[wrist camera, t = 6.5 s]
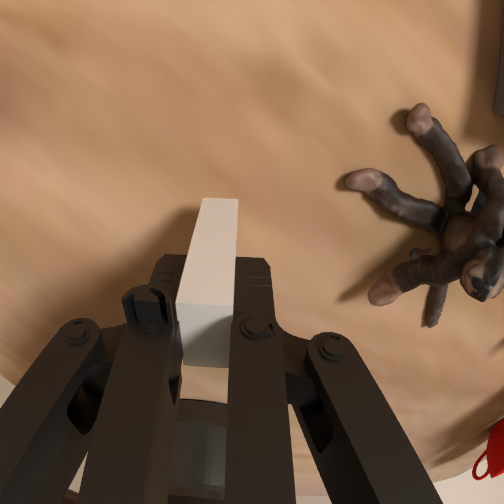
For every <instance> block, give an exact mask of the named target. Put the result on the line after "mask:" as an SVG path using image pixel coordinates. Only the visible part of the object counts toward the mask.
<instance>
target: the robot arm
mask: <svg viewBox="0 0 504 504" xmlns="http://www.w3.org/2000/svg"><path fill="white" fill-rule="evenodd" d="M237 215H238V199H222V198H203V201H202V204H201V208H200V211H199V215H198V218H197V222H196V225H195V229H194V233H193V236H192V240H191V243H190V247H189V251H188V255H173V254H165V255H164V256H163V257H162V258H161V259H160V260H159V261H157V263H156V265H155V268H154V271H153V273H152V276H151V279H150V282H149V284H148V285H141V286H138V287H135V288H132V289H131V290H129V291H128V292H126V293H125V295H124V296H123V298H122V303H123V307H124V311H125V315H126V319H127V323H125V324H123V325H120V326H116V327H110V328H103V329H99V327H98V326H97V324H96V323H95V322H94V321H92V320H90V319H85V318H79V319H74V320H72V321H69V322H67V323H66V324H65V325H64V326H62V327H61V328H60V330H59V331H58V332H57V333H56V335H55V336H54V337H53V338H52V340H51V341H50V342H49V343H48V345H47V346H46V347H45V348H44V350H43V351H42V352H41V354H40V355H39V356H38V357H37V359H36V360H35V361H34V363H33V364H32V365H31V367H30V368H29V369H28V371H27V372H26V373H25V375H24V376H23V377H22V379H21V380H20V381H19V383H18V384H17V386H16V387H15V388H14V390H13V391H12V393H11V394H10V395H9V397H8V398H7V400H6V401H5V403H4V404H3V405H2V407H1V408H0V504H296V496H295V484H294V471H293V459H292V447H291V436H290V425H289V414H288V404H291V405H292V407H293V409H294V412H295V414H296V417H297V419H298V422H299V424H300V427H301V429H302V432H303V434H304V437H305V439H306V442H307V444H308V446H309V449H310V451H311V454H312V456H313V459H314V461H315V464H316V466H317V469H318V471H319V473H320V476H321V478H322V481H323V483H324V486H325V488H326V490H327V493H328V495H329V498H330V500H331V502H332V504H443V502H442V501H441V499H440V497H439V495H438V493H437V491H436V489H435V487H434V485H433V483H432V481H431V480H430V478H429V476H428V474H427V472H426V470H425V468H424V467H423V465H422V463H421V461H420V459H419V457H418V455H417V454H416V452H415V450H414V448H413V446H412V445H411V443H410V441H409V439H408V437H407V436H406V434H405V432H404V430H403V429H402V427H401V425H400V423H399V421H398V420H397V418H396V416H395V414H394V413H393V411H392V409H391V407H390V406H389V404H388V402H387V401H386V399H385V397H384V395H383V394H382V392H381V390H380V388H379V387H378V385H377V383H376V382H375V380H374V378H373V377H372V375H371V373H370V372H369V370H368V368H367V366H366V365H365V363H364V361H363V360H362V358H361V356H360V355H359V353H358V351H357V350H356V348H355V346H354V345H353V344H352V343H351V342H350V340H349V339H347V338H346V337H344V336H342V335H341V334H337V333H333V332H322V333H320V334H317V335H315V336H314V337H313V338H312V339H311V340H307V339H303V338H299V337H296V336H293V335H291V334H289V333H287V332H285V331H284V330H283V329H282V328H281V327H280V326H279V325H278V323H277V321H276V318H275V310H274V300H273V290H272V280H271V271H270V266H269V265H268V263H267V262H266V261H265V259H264V258H253V257H235V256H236V235H237ZM182 358H183V364H184V365H189V366H203V367H219V368H229V377H228V402H227V405H225V404H219V403H213V402H206V401H195V400H179V397H180V390H181V383H182V375H181V364H182ZM87 452H88V454H87ZM86 454H87V458H86V463H85V467H84V472H83V476H82V481H81V486H80V491H79V493H77V492H74V491H72V490H69V489H68V488H69V486H70V484H71V482H72V480H73V478H74V477H75V475H76V473H77V471H78V469H79V467H80V465H81V463H82V461H83V459H84V458H85V456H86Z"/></svg>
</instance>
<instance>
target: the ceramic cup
mask: <svg viewBox="0 0 504 504" xmlns="http://www.w3.org/2000/svg"><path fill="white" fill-rule="evenodd" d="M486 454H487V462H488V468H487V471H486V473H485V474H484V475H483V476H481V477H478V476H477V475H476V468H477V466H478V464H479V462H480V461H481V459H482V458H483V457H484V456H485V455H486ZM489 473H490V476H491V478H494V477H496V476H498V475H500V474H502V473H504V419H502V420H501V421H500V422H498V423H497V424H496V425H495V426H494V427H493V428H492V429H491V433H490V436H489V439H488V443H487V449H486V450H485V451H484V453H483V454H482V455H481V456H480V457H479V458H478V460H477V461H476V462H475V464H474V467H473V470H472V475H473V478H474V479H476V480H481V479H483V478H485V477H486V476H487V475H488V474H489Z"/></svg>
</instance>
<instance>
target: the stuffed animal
mask: <svg viewBox="0 0 504 504" xmlns="http://www.w3.org/2000/svg"><path fill="white" fill-rule="evenodd" d="M406 127H407V129H408V130H409V131H410V132H412V133H413V134H414V136H415V138H416V139H417V141H418V142H419V143H420V144H421V145H422V146H424V147H425V148H426V149H427V150H428V151H429V152H430V153H431V154H432V155H433V157H434V158H435V160H436V162H437V164H438V166H439V168H440V171H441V175H442V178H443V180H444V182H445V185H446V198H445V203H444V207H439V206H437V205H436V204H435V203H434V202H432V201H428V200H424V199H417V198H415V197H413V196H411V195H409V194H406V193H404V192H402V191H401V190H400V189H399V188H398V187H397V184H396V182H395V181H394V180H393V179H392V178H391V177H390V176H389V175H387V174H385V173H383V172H382V171H379V170H375V169H371V168H365V169H361V170H358V171H355V172H353V173H351V174H350V175H349V176H348V177H347V178H346V181H345V183H346V185H347V187H349V188H350V189H354V190H359V191H364V192H365V194H366V195H367V197H368V198H369V199H370V200H371V201H373V202H374V203H376V204H377V205H378V206H379V208H380V209H381V210H382V211H383V212H386V213H389V214H391V215H393V216H396V217H398V218H401V219H402V220H404V221H406V222H408V223H410V224H412V225H414V226H416V227H418V228H422V229H424V230H427V231H429V232H431V233H434V234H435V235H436V237H437V240H438V241H439V245H440V248H441V252H440V253H439V254H438V255H437V256H431V255H422V254H429V253H430V252H431V248H429V247H428V248H425V249H418V248H414V249H412V250H411V251H410V254H409V257H410V260H408V261H405V262H402V263H399V264H398V265H396V266H395V267H394V268H393V269H391V270H389V271H388V272H386V273H385V274H384V275H383V276H382V277H381V278H380V279H379V280H378V281H377V282H376V283H375V284H374V285H373V287H372V288H371V289H370V290H369V292H368V300H369V302H370V303H371V304H372V305H375V306H384V305H387V304H390V303H392V302H394V301H395V300H396V299H397V298H398V297H399V296H400V295H401V294H403V293H404V292H407V291H410V290H412V289H414V288H416V287H417V286H419V285H422V284H428V285H431V286H432V287H431V290H430V294H429V297H428V301H427V310H426V315H425V322H426V325H427V327H428V328H432V327H434V326H435V325H437V324H438V319H439V317H440V316H441V312H442V308H443V305H444V302H445V298H446V293H447V288H448V284H449V283H451V282H453V281H455V280H458V279H460V284H461V285H462V287H463V288H464V290H465V292H466V293H467V294H468V295H469V296H471V297H473V298H475V299H477V300H478V301H481V302H485V301H487V300H489V299H491V298H495V297H496V296H498V295H499V294H500V292H501V290H502V289H503V288H504V178H503V176H502V174H501V171H500V168H501V167H502V165H503V164H504V159H503V156H502V153H501V151H500V150H499V149H498V147H497V146H496V145H494V144H493V145H490V146H488V147H486V148H484V149H481V150H477V151H476V152H475V153H474V155H473V157H472V160H473V164H474V172H473V173H471V174H469V172H468V169H467V167H466V165H465V162H464V160H463V158H462V156H461V155H460V153H459V150H458V148H457V146H456V144H455V143H454V142H453V141H452V139H451V138H450V136H449V135H448V134H447V133H446V131H445V130H444V129H443V128H442V126H441V124H440V122H439V121H438V120H437V119H436V118H434V117H431V113H430V109H429V107H428V106H427V105H426V104H425V103H419V104H417V105H416V106H414V107H413V108H412V109H411V110H410V112H409V114H408V117H407V122H406ZM473 184H475V185H476V186H477V187H478V189H479V193H478V196H477V198H476V200H475V202H474V204H473V207H472V210H471V212H470V211H466V210H465V206H466V204H467V203H468V202H469V200H470V198H471V195H472V186H473ZM421 255H422V256H421Z"/></svg>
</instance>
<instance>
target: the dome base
mask: <svg viewBox="0 0 504 504" xmlns="http://www.w3.org/2000/svg"><path fill="white" fill-rule="evenodd" d="M493 112H494V113H497V114H499V115H501V116H503V117H504V0H503V25H502V44H501V56H500V66H499V75H498V82H497V89H496V96H495V102H494V107H493Z"/></svg>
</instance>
